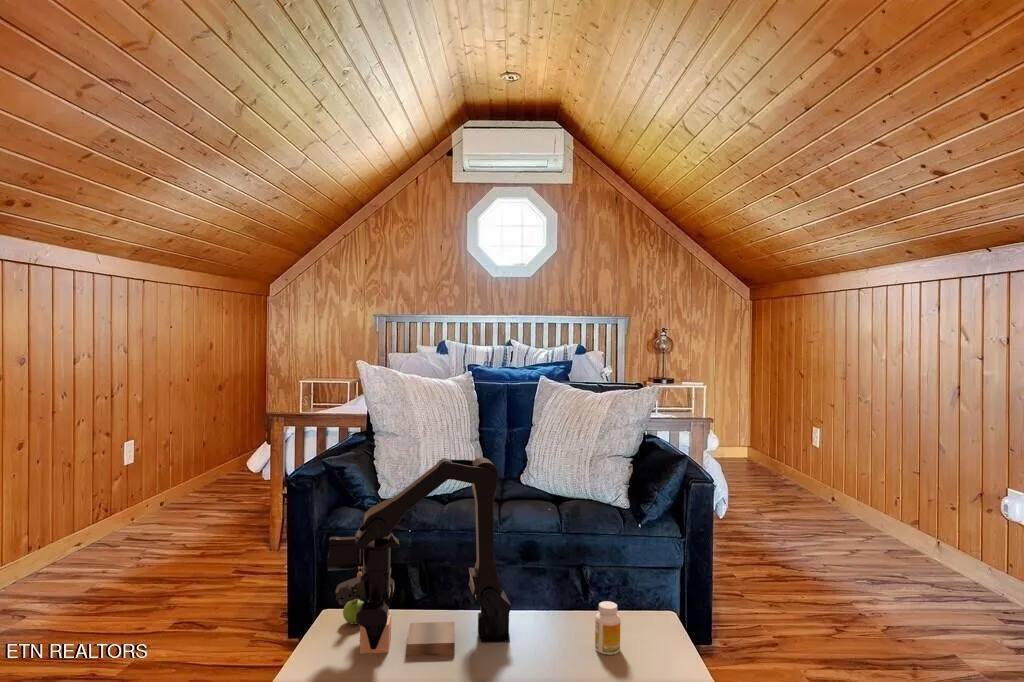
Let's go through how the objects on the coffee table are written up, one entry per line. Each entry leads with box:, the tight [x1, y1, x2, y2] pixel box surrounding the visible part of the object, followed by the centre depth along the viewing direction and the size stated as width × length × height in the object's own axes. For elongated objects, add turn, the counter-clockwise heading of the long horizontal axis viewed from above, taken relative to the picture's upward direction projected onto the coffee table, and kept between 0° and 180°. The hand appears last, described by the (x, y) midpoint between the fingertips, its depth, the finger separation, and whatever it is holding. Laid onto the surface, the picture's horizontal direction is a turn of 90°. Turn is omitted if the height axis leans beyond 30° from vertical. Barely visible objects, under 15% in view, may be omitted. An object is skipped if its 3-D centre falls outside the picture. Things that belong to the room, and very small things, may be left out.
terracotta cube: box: [359, 612, 392, 654], centre depth 139 cm, size 6×6×6 cm
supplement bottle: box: [594, 600, 621, 656], centre depth 139 cm, size 5×5×10 cm
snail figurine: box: [342, 566, 365, 625], centre depth 151 cm, size 5×6×12 cm
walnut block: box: [406, 621, 456, 657], centre depth 141 cm, size 10×10×3 cm
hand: (375, 638), depth 139 cm, fingers open, 9 cm apart
